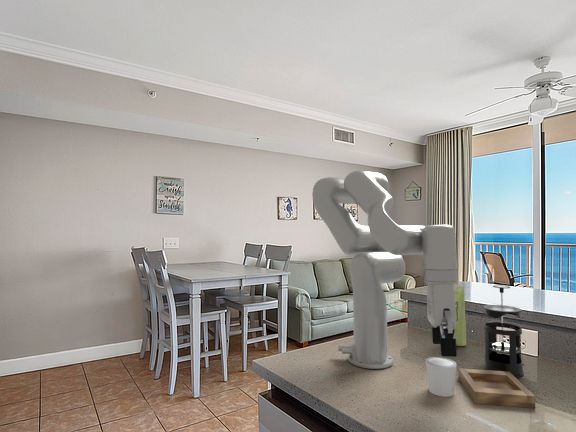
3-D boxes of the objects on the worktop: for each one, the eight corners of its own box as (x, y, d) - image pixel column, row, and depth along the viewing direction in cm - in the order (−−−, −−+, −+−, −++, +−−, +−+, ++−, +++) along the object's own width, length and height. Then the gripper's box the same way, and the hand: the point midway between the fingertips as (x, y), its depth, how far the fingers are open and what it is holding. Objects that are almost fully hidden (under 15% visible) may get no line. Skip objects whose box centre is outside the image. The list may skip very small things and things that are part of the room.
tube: (446, 344, 124) (445, 285, 124) (450, 340, 128) (449, 283, 128) (464, 347, 120) (463, 286, 121) (468, 343, 124) (467, 285, 125)
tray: (474, 403, 82) (474, 391, 82) (458, 378, 96) (458, 368, 96) (535, 408, 80) (535, 396, 80) (509, 381, 93) (509, 371, 94)
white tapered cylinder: (441, 400, 84) (441, 368, 84) (419, 388, 90) (419, 358, 90) (463, 394, 86) (463, 364, 87) (441, 383, 93) (440, 355, 93)
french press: (534, 378, 95) (531, 288, 96) (498, 379, 95) (496, 288, 96) (505, 362, 107) (504, 281, 108) (473, 362, 107) (472, 282, 108)
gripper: (418, 273, 98) (421, 339, 97) (430, 280, 81) (434, 361, 80) (448, 273, 97) (452, 340, 95) (467, 280, 80) (471, 362, 79)
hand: (444, 349), depth 88 cm, fingers open, 9 cm apart
